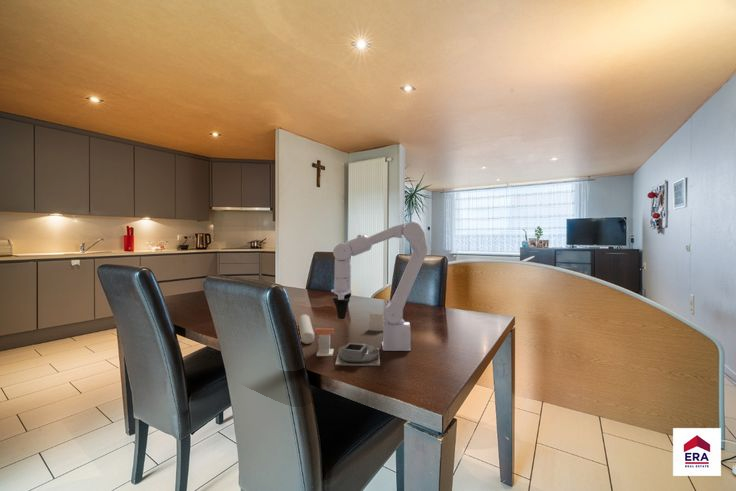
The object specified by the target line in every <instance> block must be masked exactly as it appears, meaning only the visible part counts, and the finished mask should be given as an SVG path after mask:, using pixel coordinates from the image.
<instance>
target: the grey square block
mask: <svg viewBox="0 0 736 491" xmlns="http://www.w3.org/2000/svg"><path fill="white" fill-rule="evenodd" d="M383 320H384V313H372V312H370V313H369V322H368V323H369V324H368V326H369V328H368V329H369V331H374V332H375V331H376V332H383Z"/></svg>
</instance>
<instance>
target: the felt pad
mask: <svg viewBox="0 0 736 491" xmlns="http://www.w3.org/2000/svg"><path fill="white" fill-rule="evenodd" d="M334 351H335V349H334V348H330V352H329V353H319V349H318V350H317V352H316V357H333V356H334Z"/></svg>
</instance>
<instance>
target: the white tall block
mask: <svg viewBox="0 0 736 491" xmlns="http://www.w3.org/2000/svg"><path fill="white" fill-rule="evenodd" d="M313 331H314V335H318V350H319V353H329V352H330V349H331V335H335V328H333V327H332V328H331V327H329V328H327V327H326V328H325V327H324V328H323V327H315V328H314V329H313Z"/></svg>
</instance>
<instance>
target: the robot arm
mask: <svg viewBox="0 0 736 491" xmlns="http://www.w3.org/2000/svg"><path fill="white" fill-rule="evenodd" d="M425 234H426V233H425V232H424V230H423V228H422V226H421V225H420V224H419V223H418V222H415V221H409V222H407V223H402V224H399V225H394V226H391V227H389V228H387V229H385V230H382V231H380V232H378V233H375V234H372V235H370V236H368V235H365V234H358V235H356V237H355V238H352V239H350V240H347V239H346V240H345V241H344V243H343V242H342V243H338V244H337V245H335V247H334V248H333V251H332V254H333V257H334V289H331V291H330V292H331V293H334V294H335V296H336V297H333V298H332V302H333V303H334V305H335V308H336V313H337V318H338V319H339V320H345V318H346V314H347V311H348V307H349V306H348V305H349V303H350V298H351V296H352V288H351V286H352V285H351V284H352V280H351V278H352V276H351V275H352V274H351V273H352V265H351V257H356V256H358V255H361V254H364V253H367V252H369V251H370V250H372V247H373V245H377V244H379V243H381V242H384V241H387V240H391V239H393V238H395V239H396V238H397V239H402V238H403V237H404V238H405V240H406V241H407V242H408V243H409V246H410V248H411V250H412V253H411V255H410V257H409V260H408V262H407V264H406V267H405V268H404V271H403V273H402V276H401V278H400V281H398V282H399V283H398V285H397V288H396V289H395V292H394V294H393V296H392V297H391V299H390V300H389V301H388V302H387V303H386V304H385V309H384V312H383V331H382V332H383V334H382V338H383V339H382V340H383V341H381V346H382V347H381V348H382V351H383V352H386V351H387V352H388V351H391V352H398V351H399V352H401V351H402V352H410V351H411V350H412V349H411V343H412V342H411V340H412V339H411V323H410V321H405V319H404V318H403V317H404V307H405V305H406V303H407V299H408V297H409V294H410V293H411V290H412V287H413V286H414V283H415V281H416V279H417V277H418V274H419V272H420V269H421V268H422V265H423V263H424V260H425V259H426V256H427V253H428V247H427V246H428V245H427V241H426V235H425Z"/></svg>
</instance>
